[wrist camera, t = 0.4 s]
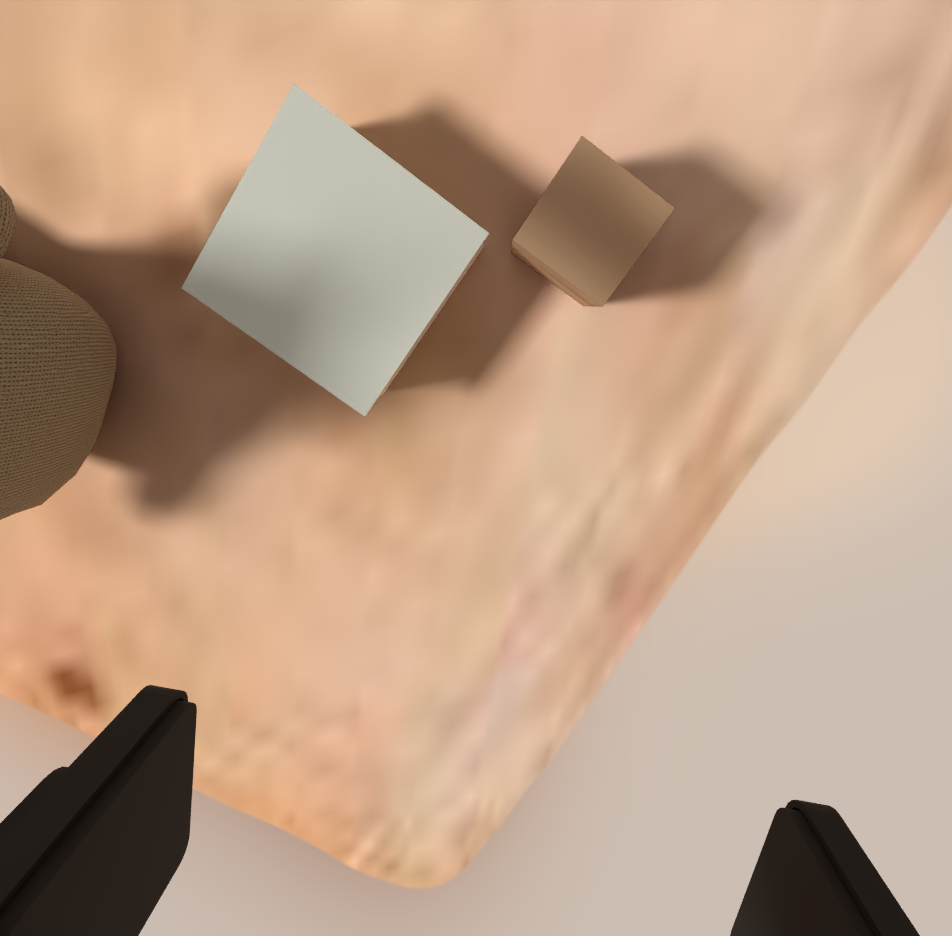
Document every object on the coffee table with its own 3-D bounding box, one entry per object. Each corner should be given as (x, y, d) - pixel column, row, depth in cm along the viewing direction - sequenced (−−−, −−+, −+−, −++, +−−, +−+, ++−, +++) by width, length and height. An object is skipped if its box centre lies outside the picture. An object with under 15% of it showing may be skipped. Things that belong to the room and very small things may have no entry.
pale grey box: (331, 123, 32) (294, 83, 26) (491, 245, 33) (489, 232, 28) (235, 290, 35) (181, 288, 29) (387, 398, 36) (364, 416, 30)
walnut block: (565, 171, 32) (582, 135, 25) (639, 228, 33) (674, 208, 26) (511, 252, 33) (512, 239, 27) (583, 306, 34) (602, 306, 27)
